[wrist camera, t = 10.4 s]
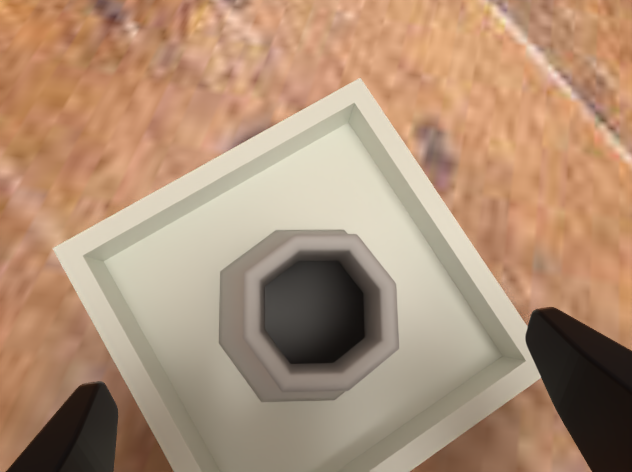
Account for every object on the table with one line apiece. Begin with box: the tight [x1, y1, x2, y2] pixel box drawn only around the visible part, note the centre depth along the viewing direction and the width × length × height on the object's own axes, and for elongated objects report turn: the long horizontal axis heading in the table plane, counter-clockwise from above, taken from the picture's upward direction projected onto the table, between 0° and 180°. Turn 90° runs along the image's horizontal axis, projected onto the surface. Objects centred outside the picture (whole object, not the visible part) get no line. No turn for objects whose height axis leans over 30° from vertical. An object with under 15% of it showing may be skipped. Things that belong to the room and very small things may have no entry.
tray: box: [53, 78, 541, 472], centre depth 18 cm, size 14×14×2 cm
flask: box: [219, 230, 399, 402], centre depth 14 cm, size 7×7×10 cm
